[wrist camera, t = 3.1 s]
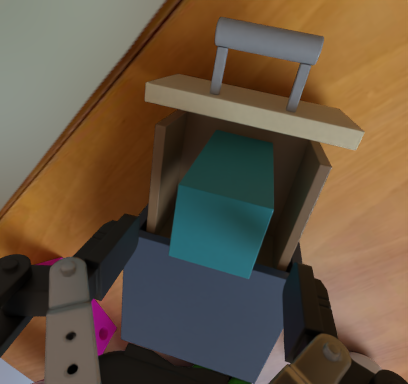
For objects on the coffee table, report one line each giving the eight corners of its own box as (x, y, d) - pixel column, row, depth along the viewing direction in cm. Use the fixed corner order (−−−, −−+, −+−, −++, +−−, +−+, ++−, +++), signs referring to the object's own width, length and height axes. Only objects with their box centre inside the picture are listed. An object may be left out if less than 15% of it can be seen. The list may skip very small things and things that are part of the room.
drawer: (184, 14, 21) (150, 1, 15) (364, 49, 20) (404, 50, 14) (162, 205, 30) (135, 245, 24) (285, 239, 28) (289, 290, 23)
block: (216, 129, 24) (178, 184, 14) (273, 142, 23) (274, 209, 14) (205, 180, 26) (167, 255, 16) (257, 193, 25) (248, 279, 16)
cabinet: (161, 185, 30) (124, 232, 22) (296, 221, 28) (305, 285, 21) (151, 279, 37) (120, 339, 30) (258, 312, 36) (254, 384, 28)
